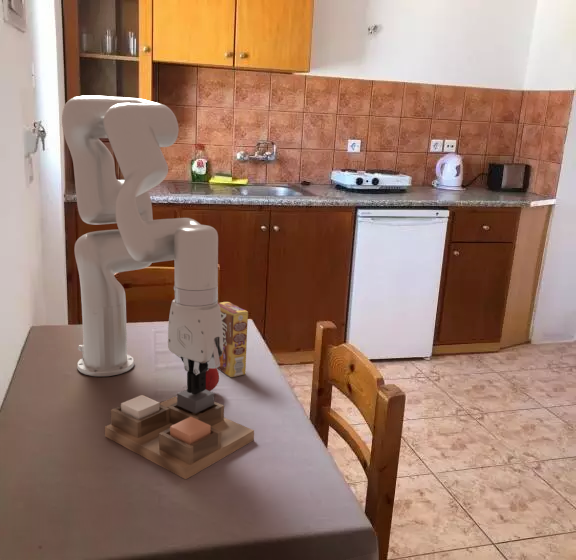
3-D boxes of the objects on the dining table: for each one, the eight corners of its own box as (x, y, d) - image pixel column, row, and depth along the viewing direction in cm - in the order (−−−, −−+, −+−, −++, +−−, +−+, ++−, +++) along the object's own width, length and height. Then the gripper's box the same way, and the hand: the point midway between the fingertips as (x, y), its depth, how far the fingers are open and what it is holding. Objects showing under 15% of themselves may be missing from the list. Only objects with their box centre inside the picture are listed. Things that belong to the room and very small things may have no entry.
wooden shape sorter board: (105, 436, 114) (104, 411, 113) (175, 405, 127) (175, 382, 126) (185, 479, 102) (185, 451, 101) (253, 440, 115) (254, 415, 114)
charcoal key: (177, 405, 116) (177, 393, 115) (196, 397, 120) (196, 385, 119) (195, 413, 113) (195, 401, 113) (214, 404, 117) (214, 392, 116)
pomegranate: (213, 401, 130) (214, 365, 128) (187, 397, 131) (187, 362, 129) (222, 389, 136) (222, 355, 133) (196, 386, 137) (196, 352, 135)
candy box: (247, 374, 144) (249, 311, 140) (231, 378, 142) (232, 313, 138) (228, 361, 151) (229, 300, 147) (212, 365, 149) (212, 303, 145)
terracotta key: (170, 439, 107) (170, 426, 106) (190, 428, 110) (190, 416, 110) (189, 448, 104) (190, 435, 103) (210, 438, 108) (210, 425, 107)
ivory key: (121, 415, 114) (121, 403, 114) (142, 406, 118) (142, 394, 117) (138, 423, 112) (138, 411, 111) (159, 414, 115) (159, 402, 115)
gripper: (151, 291, 112) (153, 386, 117) (211, 308, 104) (211, 410, 108) (182, 283, 118) (183, 374, 123) (242, 299, 110) (240, 396, 114)
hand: (196, 391), depth 116 cm, fingers closed
